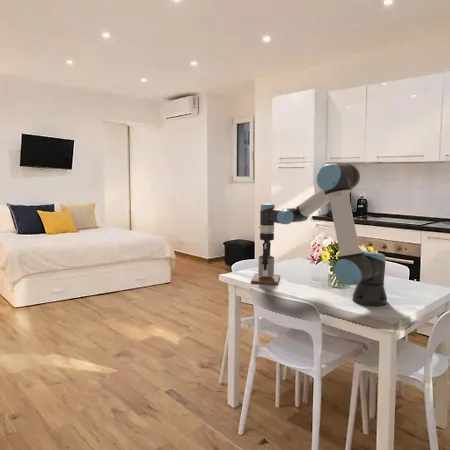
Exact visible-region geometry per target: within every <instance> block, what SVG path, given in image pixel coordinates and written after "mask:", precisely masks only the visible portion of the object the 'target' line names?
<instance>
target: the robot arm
mask: <svg viewBox="0 0 450 450" xmlns="http://www.w3.org/2000/svg"><path fill="white" fill-rule="evenodd" d="M360 179H361V173H360V171H359V169H358V168H357V167H356V166H355V165H353V164H351V163H334V162H333V163H328V164H327V163H326V164H325V165H322V166H321V167H320V168H319V170H318V172H317V175H316V185H317V186H318V187H319V190H318V191H317V192H315V193H313V194H312V195H311V196H309V197H308V198H307V199H305V200H304V201H303V202H302V203H301V202H300V204H299V205H297V206H295V207H291V208H290V207H289V208H276V205H275V204H273V203H262V204H260V210H259V212H260V213H259V215H260V216H259V219H260V221H259V222H260V223H259V224H260V226H258V228H259V231H260V232H259V240H260V241H263V243H262V256H263V262H262V263H261V264H263V276H268V256H271V246H272V245H271V241H274V240H275V224H280V225H290V224H291V223H300V222H302V223H303V222H305V221H307V220H308V219H309V217H310V215H313V213H315V212H316V211H318V210H319V209H321V208H322V207H324V206H325V205H327V204H328V203H329V206H330V209H331V215H332V220H333V226H334V231H335V235H336V240H337V245H338V250H339V252H338V254H337V255H336V258H337V262H335V265H334V267H333V272H334V274H335V277H336V279H337V280H338V281H339V282H340V283H341V284H342V285H346V286H355V289H354V290H353V293H352V301H353V302H355V303H357V304H358V305H363V304H364V306H368V305H370V306H371V307H380V305H382V306H384V304H385V305H387V304H386V303H388V297H387V292H386V289H385V273H386V271H385V270H386V256H385V254H383V253H380V252H375V251H367V250H363V249H361V248H360V244H359V239H358V234H357V231H356V226H355V219H354V216H353V215H354V214H353V210H352V205H351V199H350V193H351V192H352V190H353V189H354V188H356V187H357V185H358V184H359V182H360Z"/></svg>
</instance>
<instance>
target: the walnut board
mask: <svg viewBox="0 0 450 450" xmlns="http://www.w3.org/2000/svg"><path fill="white" fill-rule="evenodd" d="M280 278H281V274H274V276H273V277H261V276H259V275H258V272H257V273H256V272H255V273H254V275H253V276H252V278H251V280H250V284H254V285H257V284H259V285H271V286H272V285H273V286H278V285H279V283H280Z"/></svg>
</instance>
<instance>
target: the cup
mask: <svg viewBox="0 0 450 450" xmlns="http://www.w3.org/2000/svg"><path fill="white" fill-rule="evenodd" d="M262 262H263V255H260V256H258V268H257V269H258V272H257V274H258V275H259V276H261V277H273V276H274V275H275V256H273V255H270V256H268V276H263V264H261V263H262Z"/></svg>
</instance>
